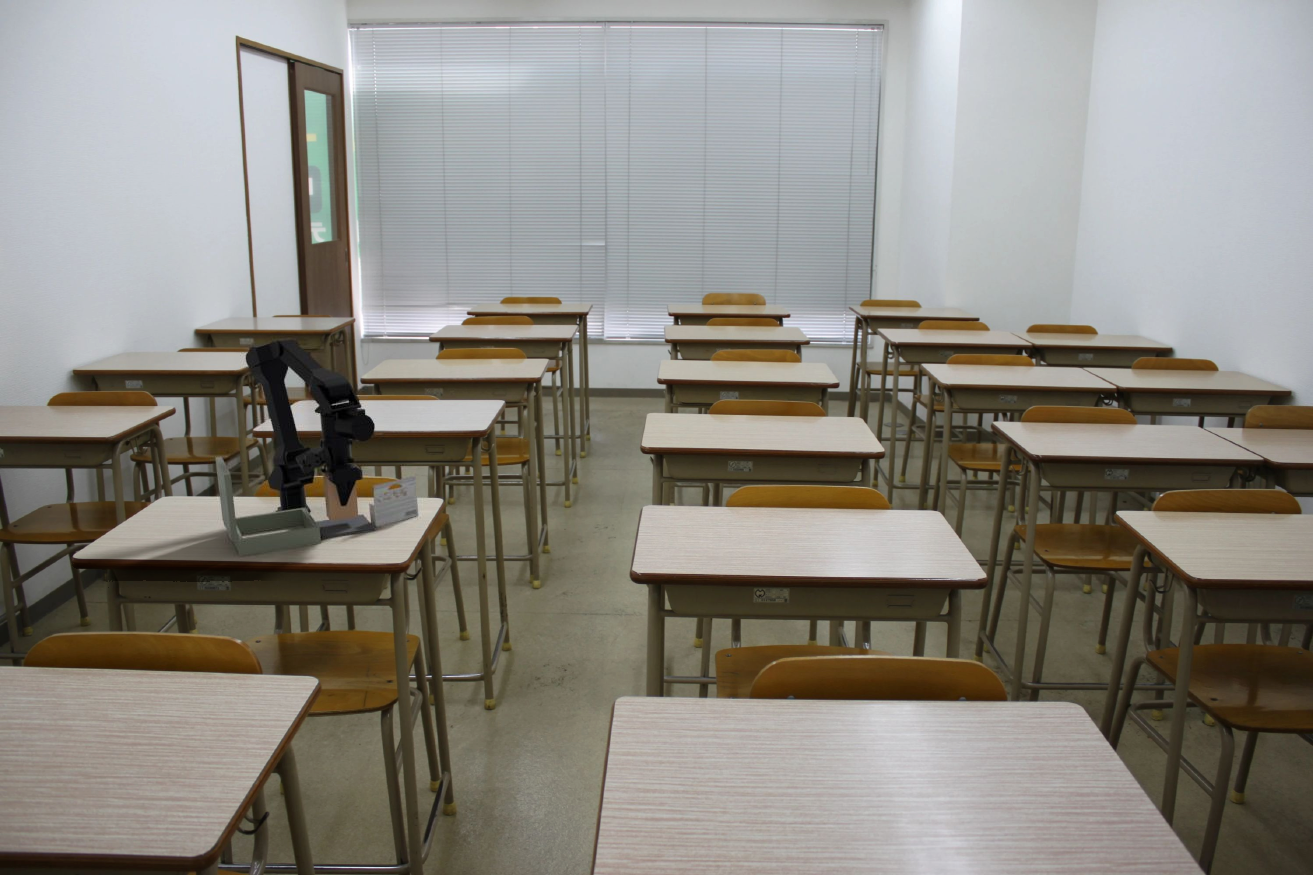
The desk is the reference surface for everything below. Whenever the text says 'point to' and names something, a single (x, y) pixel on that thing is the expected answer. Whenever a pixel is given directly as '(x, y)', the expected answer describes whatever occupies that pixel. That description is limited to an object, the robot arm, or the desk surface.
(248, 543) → the case
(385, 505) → the ink cartridge box
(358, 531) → the rubber mat
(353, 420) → the robot arm
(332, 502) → the box
